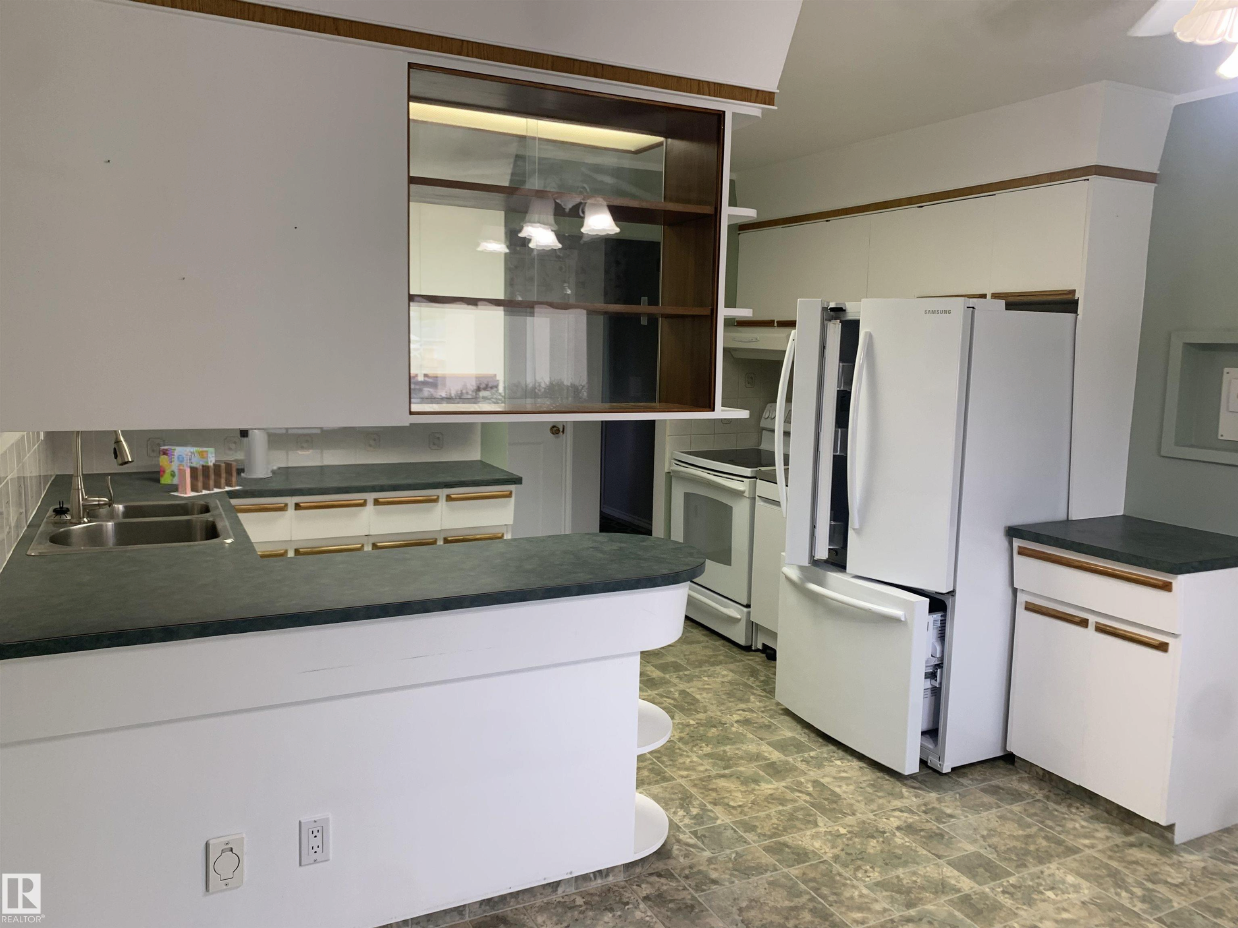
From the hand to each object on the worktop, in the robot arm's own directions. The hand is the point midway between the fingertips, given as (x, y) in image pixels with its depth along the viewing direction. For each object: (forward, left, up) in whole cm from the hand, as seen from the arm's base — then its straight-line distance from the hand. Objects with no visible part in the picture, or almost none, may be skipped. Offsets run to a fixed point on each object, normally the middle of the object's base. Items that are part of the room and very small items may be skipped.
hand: (244, 437), depth 359 cm
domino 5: (+7, 0, -19) cm, 21 cm away
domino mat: (+17, 0, -20) cm, 27 cm away
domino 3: (+17, 0, -19) cm, 26 cm away
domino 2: (+22, 0, -19) cm, 29 cm away
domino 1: (+27, 0, -19) cm, 33 cm away
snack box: (+12, -20, -20) cm, 31 cm away
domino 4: (+12, 0, -19) cm, 23 cm away
